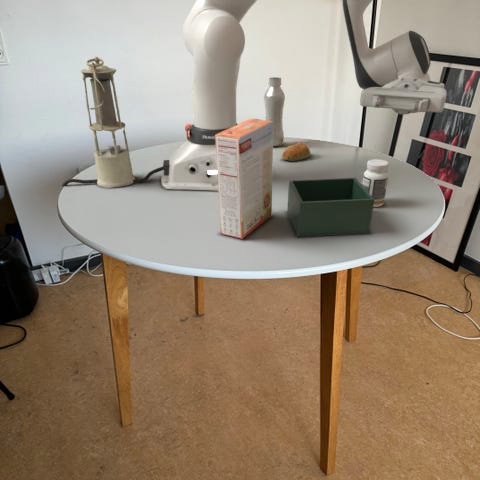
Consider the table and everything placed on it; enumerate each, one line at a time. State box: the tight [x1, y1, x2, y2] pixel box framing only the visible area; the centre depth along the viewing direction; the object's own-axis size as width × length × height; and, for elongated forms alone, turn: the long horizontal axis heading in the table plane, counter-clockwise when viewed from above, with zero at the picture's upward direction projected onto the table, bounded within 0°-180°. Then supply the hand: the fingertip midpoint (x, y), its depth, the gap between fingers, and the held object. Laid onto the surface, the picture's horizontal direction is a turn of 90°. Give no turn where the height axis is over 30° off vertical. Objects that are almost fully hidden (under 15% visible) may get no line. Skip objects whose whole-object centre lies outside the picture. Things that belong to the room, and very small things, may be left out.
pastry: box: [281, 142, 311, 162], centre depth 140 cm, size 9×7×4 cm
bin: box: [286, 177, 374, 238], centre depth 101 cm, size 15×13×8 cm
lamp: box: [80, 56, 136, 189], centre depth 116 cm, size 10×13×30 cm
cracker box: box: [215, 118, 274, 240], centre depth 96 cm, size 14×6×21 cm, turn 150°
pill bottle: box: [361, 158, 389, 208], centre depth 108 cm, size 6×6×10 cm
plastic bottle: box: [263, 76, 286, 147], centre depth 146 cm, size 6×7×20 cm
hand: (396, 105), depth 108 cm, fingers open, 8 cm apart
